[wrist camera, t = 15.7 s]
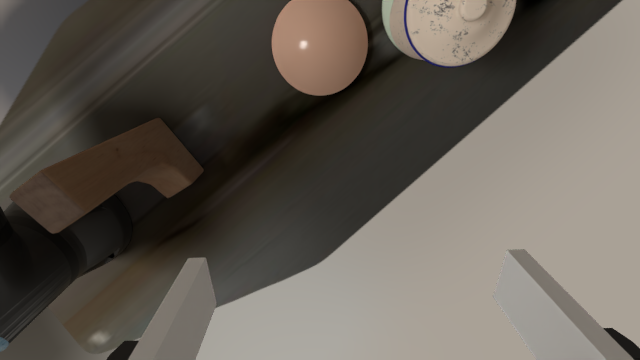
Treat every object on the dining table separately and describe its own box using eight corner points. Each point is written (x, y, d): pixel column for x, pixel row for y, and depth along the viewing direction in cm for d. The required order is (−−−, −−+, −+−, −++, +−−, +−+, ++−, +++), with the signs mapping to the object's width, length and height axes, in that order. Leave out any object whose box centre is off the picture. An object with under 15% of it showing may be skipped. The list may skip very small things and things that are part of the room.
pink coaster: (275, 93, 37) (274, 94, 37) (270, -10, 33) (268, -11, 32) (363, 95, 37) (364, 96, 37) (370, -9, 33) (371, -10, 32)
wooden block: (205, 170, 42) (128, 251, 26) (182, 184, 43) (94, 272, 27) (160, 115, 39) (39, 169, 23) (135, 133, 40) (4, 196, 24)
